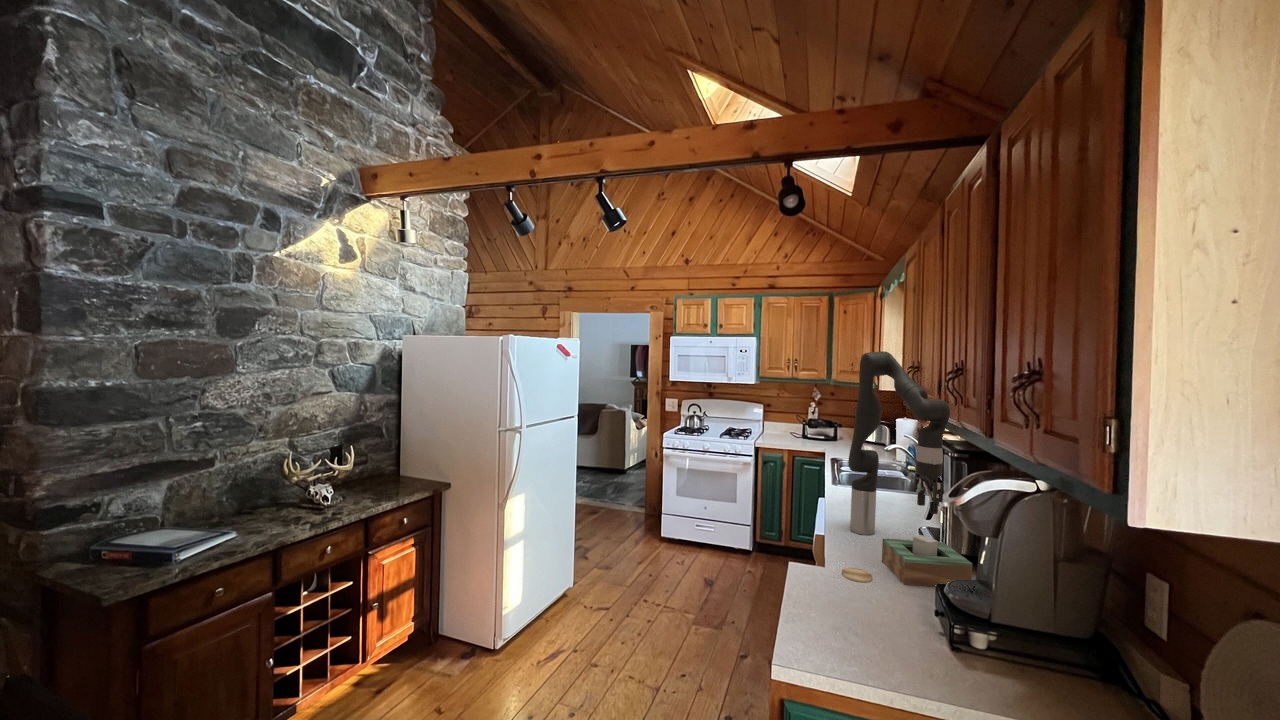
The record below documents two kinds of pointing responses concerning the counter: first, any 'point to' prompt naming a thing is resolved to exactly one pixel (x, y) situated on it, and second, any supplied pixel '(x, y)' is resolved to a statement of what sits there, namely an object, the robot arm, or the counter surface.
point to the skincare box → (924, 546)
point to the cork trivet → (857, 575)
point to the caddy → (924, 564)
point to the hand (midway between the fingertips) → (927, 509)
